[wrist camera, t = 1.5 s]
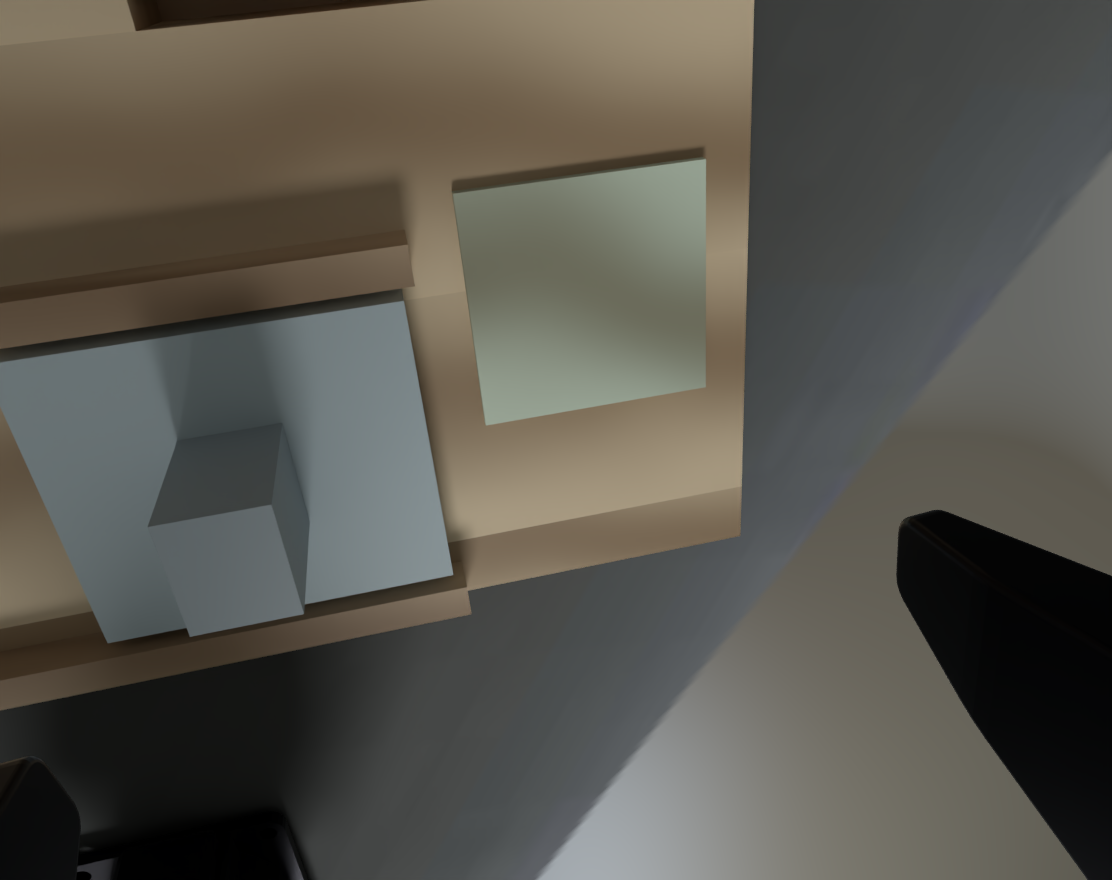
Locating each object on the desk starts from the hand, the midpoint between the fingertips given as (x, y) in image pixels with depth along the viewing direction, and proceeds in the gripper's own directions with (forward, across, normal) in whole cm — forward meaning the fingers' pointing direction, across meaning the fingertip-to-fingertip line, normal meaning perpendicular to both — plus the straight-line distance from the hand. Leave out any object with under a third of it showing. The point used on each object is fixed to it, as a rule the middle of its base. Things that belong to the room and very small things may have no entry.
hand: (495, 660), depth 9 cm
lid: (+10, +4, +2) cm, 11 cm away
